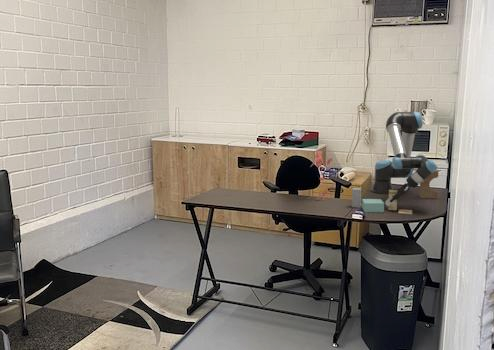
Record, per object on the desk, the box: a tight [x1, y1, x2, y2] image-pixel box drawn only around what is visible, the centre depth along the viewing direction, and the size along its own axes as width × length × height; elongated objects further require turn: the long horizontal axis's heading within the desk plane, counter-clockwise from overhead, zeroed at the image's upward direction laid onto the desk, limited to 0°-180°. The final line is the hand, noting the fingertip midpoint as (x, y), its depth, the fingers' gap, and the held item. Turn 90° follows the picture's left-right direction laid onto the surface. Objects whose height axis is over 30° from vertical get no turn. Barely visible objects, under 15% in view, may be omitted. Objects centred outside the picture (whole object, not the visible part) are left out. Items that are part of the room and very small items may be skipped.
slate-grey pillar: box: [351, 187, 362, 209], centre depth 305 cm, size 5×5×12 cm
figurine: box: [306, 149, 333, 201], centre depth 329 cm, size 15×26×35 cm, turn 146°
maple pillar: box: [387, 189, 398, 211], centre depth 296 cm, size 5×5×12 cm
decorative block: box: [418, 168, 440, 200], centre depth 324 cm, size 11×6×20 cm, turn 78°
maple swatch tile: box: [397, 208, 413, 215], centre depth 289 cm, size 8×8×1 cm
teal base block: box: [361, 198, 385, 213], centre depth 296 cm, size 12×12×6 cm
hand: (386, 203), depth 298 cm, fingers closed on maple pillar, 5 cm apart
